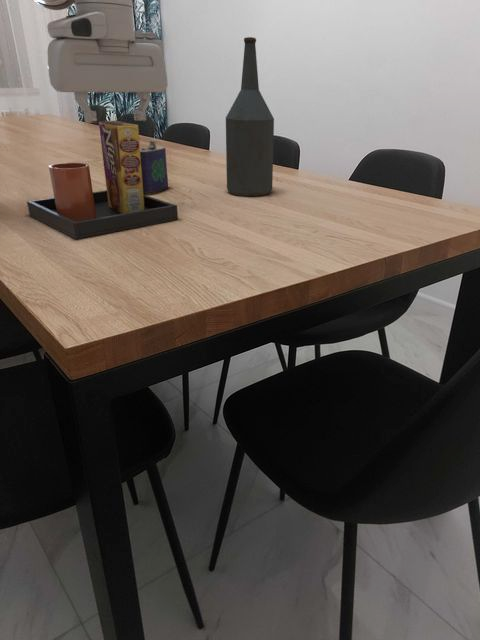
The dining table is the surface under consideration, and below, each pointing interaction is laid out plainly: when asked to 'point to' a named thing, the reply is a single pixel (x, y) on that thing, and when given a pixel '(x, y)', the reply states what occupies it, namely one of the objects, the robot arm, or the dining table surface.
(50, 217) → the tray
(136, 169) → the candy box
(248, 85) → the bottle
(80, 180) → the cup
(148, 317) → the dining table surface
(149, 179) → the flask
